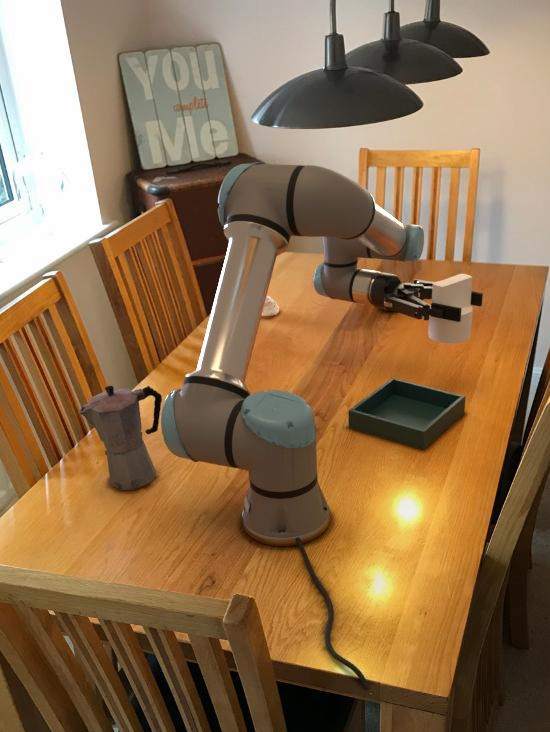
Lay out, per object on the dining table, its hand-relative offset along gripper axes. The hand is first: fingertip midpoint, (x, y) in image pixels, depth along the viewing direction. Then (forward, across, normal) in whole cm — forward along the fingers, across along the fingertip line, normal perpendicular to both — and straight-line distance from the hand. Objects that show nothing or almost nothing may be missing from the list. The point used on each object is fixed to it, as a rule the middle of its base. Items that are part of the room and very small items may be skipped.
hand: (471, 307), depth 173 cm
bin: (-5, +17, -20) cm, 27 cm away
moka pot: (-38, +64, -20) cm, 77 cm away
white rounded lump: (-68, -16, -20) cm, 72 cm away
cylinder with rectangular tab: (-5, 0, -7) cm, 9 cm away
